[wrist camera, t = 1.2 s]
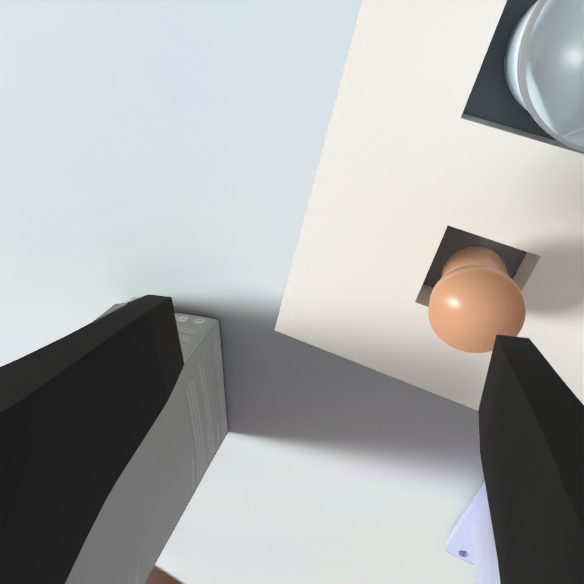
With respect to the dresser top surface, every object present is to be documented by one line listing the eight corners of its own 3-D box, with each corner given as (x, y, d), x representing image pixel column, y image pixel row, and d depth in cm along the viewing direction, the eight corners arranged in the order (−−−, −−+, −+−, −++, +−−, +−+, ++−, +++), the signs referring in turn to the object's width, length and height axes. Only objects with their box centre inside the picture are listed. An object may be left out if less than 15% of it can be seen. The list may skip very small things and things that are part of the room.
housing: (1001, -159, 12) (1091, -196, 10) (576, 422, 21) (586, 453, 20) (443, -251, 14) (440, -295, 12) (287, 310, 24) (274, 330, 22)
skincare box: (120, 297, 27) (-231, 535, 13) (237, 318, 25) (-34, 622, 11) (138, 416, 31) (-123, 697, 17) (241, 442, 29) (40, 784, 15)
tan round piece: (530, 254, 18) (543, 291, 15) (495, 320, 19) (500, 365, 16) (451, 228, 18) (448, 258, 15) (422, 294, 20) (415, 333, 17)
